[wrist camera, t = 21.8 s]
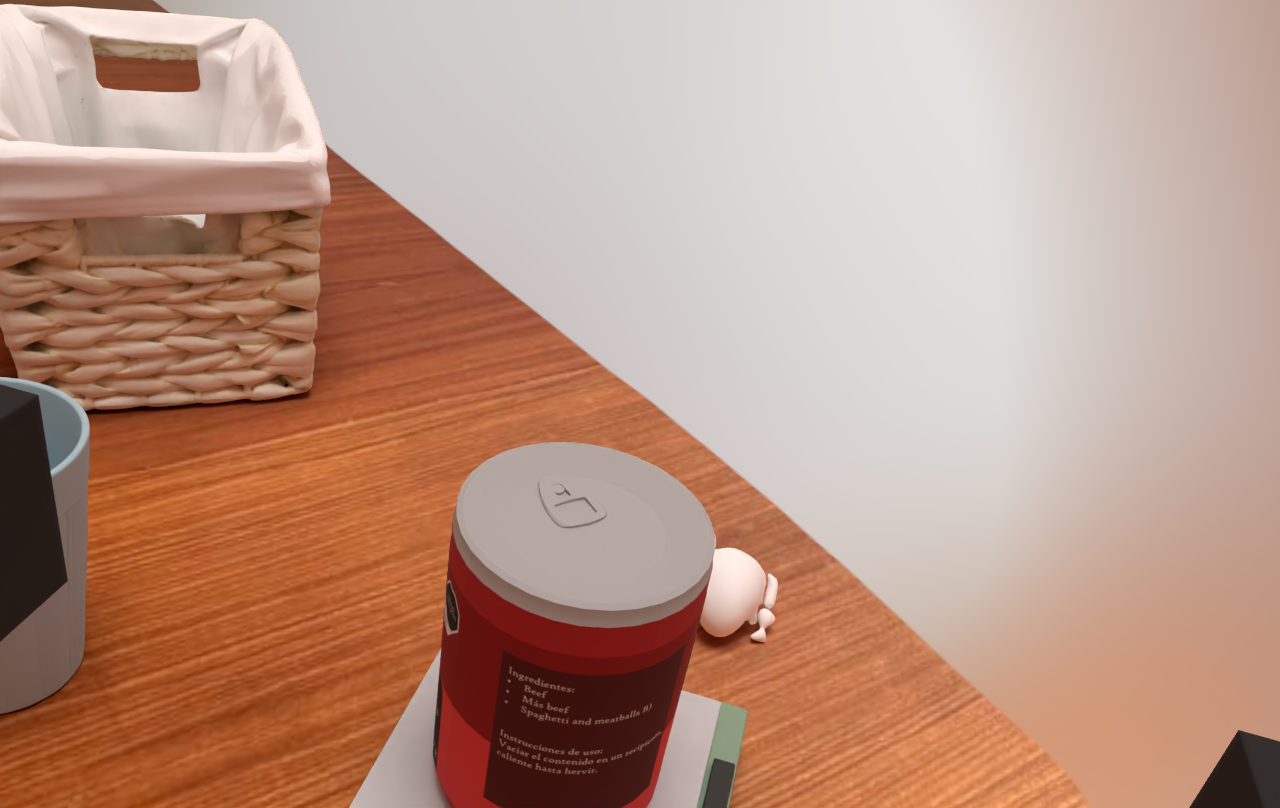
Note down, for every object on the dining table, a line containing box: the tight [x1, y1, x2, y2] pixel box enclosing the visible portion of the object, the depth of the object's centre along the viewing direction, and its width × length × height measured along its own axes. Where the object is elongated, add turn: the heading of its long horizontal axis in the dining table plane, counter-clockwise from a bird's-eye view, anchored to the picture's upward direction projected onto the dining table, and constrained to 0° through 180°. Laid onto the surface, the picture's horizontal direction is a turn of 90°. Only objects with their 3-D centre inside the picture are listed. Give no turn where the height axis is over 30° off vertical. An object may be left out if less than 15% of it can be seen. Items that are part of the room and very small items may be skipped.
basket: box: [0, 4, 331, 411], centre depth 61 cm, size 24×16×15 cm
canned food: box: [433, 442, 715, 808], centre depth 34 cm, size 8×8×11 cm
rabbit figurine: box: [700, 534, 778, 642], centre depth 48 cm, size 6×4×8 cm
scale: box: [349, 649, 748, 808], centre depth 38 cm, size 12×12×3 cm
